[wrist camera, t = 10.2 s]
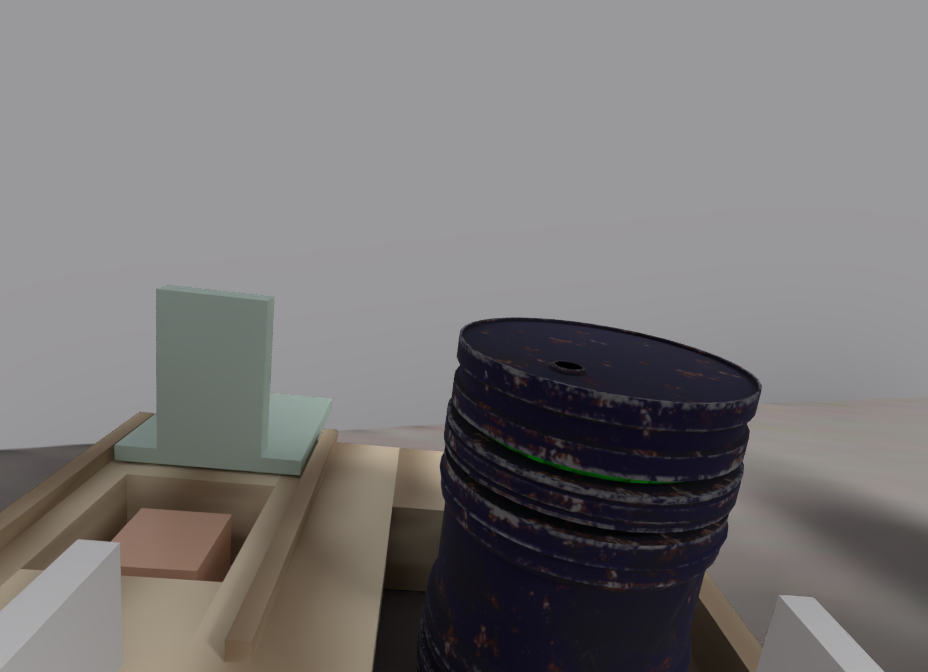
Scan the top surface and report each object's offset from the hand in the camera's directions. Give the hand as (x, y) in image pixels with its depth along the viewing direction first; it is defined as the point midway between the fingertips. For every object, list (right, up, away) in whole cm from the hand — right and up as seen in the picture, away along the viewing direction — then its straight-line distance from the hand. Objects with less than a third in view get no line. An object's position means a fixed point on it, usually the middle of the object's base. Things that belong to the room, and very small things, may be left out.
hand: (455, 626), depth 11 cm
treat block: (-13, -7, +13) cm, 20 cm away
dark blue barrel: (+3, -9, +11) cm, 15 cm away
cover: (-13, 0, +21) cm, 24 cm away
